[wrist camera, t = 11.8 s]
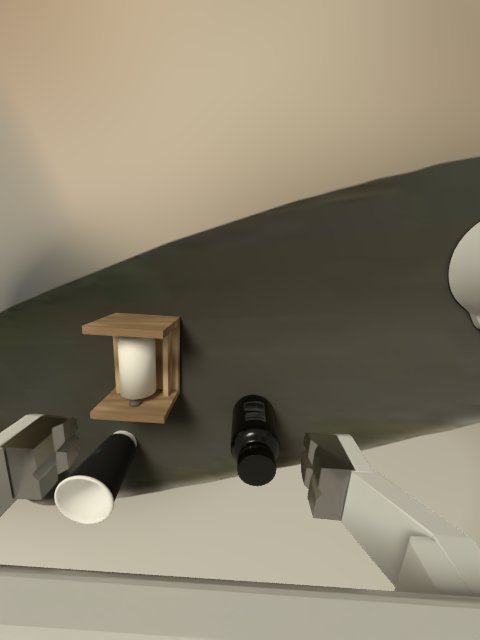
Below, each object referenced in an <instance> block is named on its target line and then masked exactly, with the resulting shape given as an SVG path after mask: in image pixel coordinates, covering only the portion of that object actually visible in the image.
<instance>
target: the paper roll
mask: <svg viewBox="0 0 480 640" xmlns="http://www.w3.org/2000/svg"><path fill="white" fill-rule="evenodd" d="M117 341H118V358H119V375H120V392H121V396H122V397H123V398H126V399H131V400H136V399H143V398H146V397H149V396H151V395H152V394H154V393H155V391H156V346H155V338H142V337H125V336H117Z"/></svg>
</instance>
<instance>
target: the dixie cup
mask: <svg viewBox="0 0 480 640" xmlns="http://www.w3.org/2000/svg"><path fill="white" fill-rule="evenodd" d="M136 446H137V441H136V439H135V437H134V436H133V435H132V434H131V433H129V432H127V431H117V432H115V433H114V434H113V435H111V436H109V437H108V438H107V439H106V440H105V441H104V442H103V443H102V444H101V445H100V446H99V447H98V448H97V449H96V450H95V451H94V452H93V453H92V454H91V455H90V456H89V457H88V458H87V459H86V460H85V461H84V462H83V463H82V464H81V465H80V466H79V467H78V468H77V469H76V470H75V471H74V472H73V473H72V474H71V475H70V476H69V477H68V478H66V479H65V480H63V481H62V482H61V483H60V484H59V485H58V486H57V488H56V490H55V494H54V498H55V503H56V506H57V507H58V509H59V511H61V513H62V514H63V515H64V516H66V517H67V518H68V519H70V520H72V521H75V522H78V523H81V524H95V523H99V522H101V521H103V520H105V519H106V518H107V517H108V516H109V515H110V514H111V512H112V510H113V507H114V501H115V499H116V496H117V494H118V492H119V489H120V487H121V485H122V482H123V480H124V478H125V475H126V473H127V471H128V468H129V466H130V463H131V461H132V459H133V456H134V454H135V451H136Z"/></svg>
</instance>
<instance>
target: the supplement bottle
mask: <svg viewBox="0 0 480 640" xmlns="http://www.w3.org/2000/svg"><path fill="white" fill-rule="evenodd" d="M279 452H280V442H279V437H278V432H277V427H276V422H275V417H274V412H273V408H272V406H271V404H270V403H269V402H268V400H266V399H265V398H263V397H261V396H258V395H248V396H245V397H243V398H241V399H240V400H239V401H238V402H237V403H236V404H235V406H234V409H233V417H232V432H231V453H232V456H233V458H234V459H235V461H236V462H237V471H238V475H239V477H240V478H241V480H243V481H244V482H245V483H247V484H249V485H253V486H262V485H265V484H267V483H269V482H270V481H271V480H272V479H273V477H274V476H275V474H276V459H277V457H278V455H279Z"/></svg>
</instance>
